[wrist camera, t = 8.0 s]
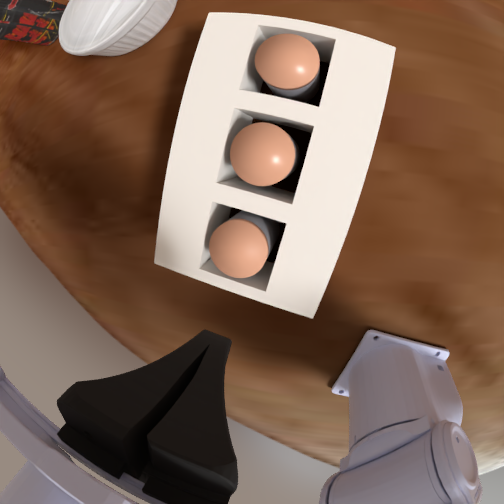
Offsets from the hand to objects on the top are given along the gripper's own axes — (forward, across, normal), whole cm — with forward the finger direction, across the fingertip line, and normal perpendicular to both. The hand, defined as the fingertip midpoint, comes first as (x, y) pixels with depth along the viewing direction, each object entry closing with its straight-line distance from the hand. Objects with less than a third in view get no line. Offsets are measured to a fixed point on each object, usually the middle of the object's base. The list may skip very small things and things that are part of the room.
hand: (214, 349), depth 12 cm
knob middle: (+10, +1, -9) cm, 13 cm away
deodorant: (+10, +32, -22) cm, 40 cm away
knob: (+10, +1, -14) cm, 17 cm away
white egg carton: (+10, +1, -8) cm, 13 cm away
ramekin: (+10, +17, -20) cm, 28 cm away
